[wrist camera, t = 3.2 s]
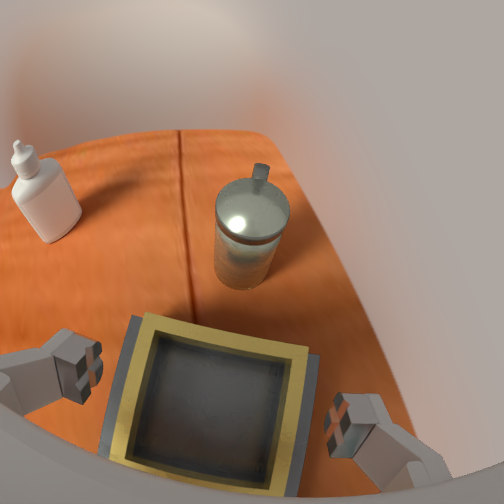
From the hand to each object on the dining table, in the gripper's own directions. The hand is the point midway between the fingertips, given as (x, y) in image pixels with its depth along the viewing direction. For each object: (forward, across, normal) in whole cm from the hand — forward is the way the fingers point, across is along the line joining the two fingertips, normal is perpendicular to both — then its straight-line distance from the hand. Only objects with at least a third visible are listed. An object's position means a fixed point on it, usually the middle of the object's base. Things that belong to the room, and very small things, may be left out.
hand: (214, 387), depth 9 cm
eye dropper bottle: (+19, +20, +2) cm, 28 cm away
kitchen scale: (+6, 0, +14) cm, 16 cm away
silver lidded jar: (+19, 0, +2) cm, 19 cm away
